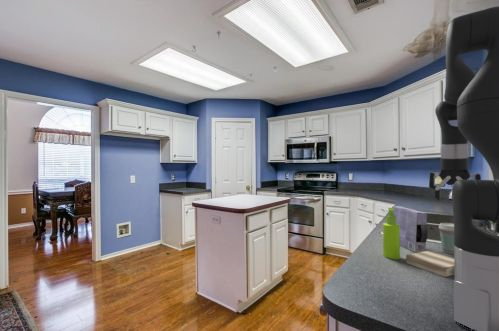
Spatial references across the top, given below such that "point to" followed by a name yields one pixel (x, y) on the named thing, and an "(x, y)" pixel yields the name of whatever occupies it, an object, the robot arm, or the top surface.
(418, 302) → the top surface
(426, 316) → the top surface
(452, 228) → the coffee cup
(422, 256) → the birch stand
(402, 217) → the cake pan box
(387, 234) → the soap dispenser
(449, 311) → the top surface
